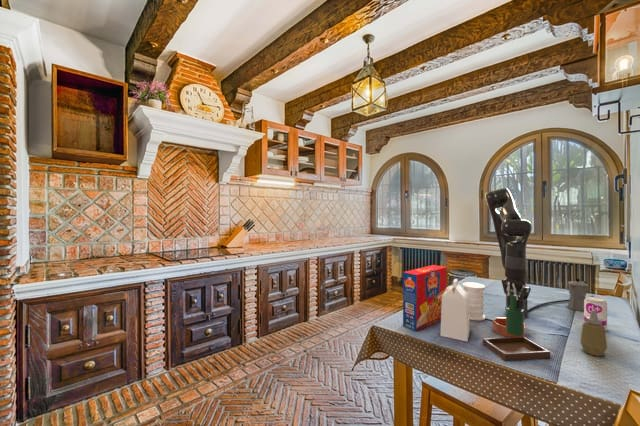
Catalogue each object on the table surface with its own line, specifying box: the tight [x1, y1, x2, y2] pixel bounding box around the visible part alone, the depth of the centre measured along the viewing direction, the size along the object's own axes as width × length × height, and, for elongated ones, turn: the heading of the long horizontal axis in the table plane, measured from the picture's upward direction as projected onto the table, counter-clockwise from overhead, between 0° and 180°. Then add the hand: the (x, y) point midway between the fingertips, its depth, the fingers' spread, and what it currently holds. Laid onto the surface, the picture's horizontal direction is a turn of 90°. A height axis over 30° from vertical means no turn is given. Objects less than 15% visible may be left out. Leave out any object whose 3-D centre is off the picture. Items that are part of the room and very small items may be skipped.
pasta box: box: [402, 264, 448, 332], centre depth 152 cm, size 28×8×28 cm, turn 127°
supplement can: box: [583, 296, 608, 331], centre depth 142 cm, size 8×8×15 cm
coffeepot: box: [567, 278, 589, 312], centre depth 170 cm, size 15×9×18 cm, turn 113°
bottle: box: [506, 294, 525, 336], centre depth 121 cm, size 6×6×16 cm
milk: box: [439, 278, 471, 342], centre depth 138 cm, size 12×12×26 cm
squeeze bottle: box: [580, 310, 608, 357], centre depth 119 cm, size 8×8×18 cm
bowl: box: [492, 316, 527, 338], centre depth 138 cm, size 13×13×5 cm
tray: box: [482, 336, 551, 361], centre depth 121 cm, size 20×14×3 cm
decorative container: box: [462, 281, 486, 321], centre depth 157 cm, size 12×12×18 cm
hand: (515, 306), depth 121 cm, fingers closed on bottle, 3 cm apart
